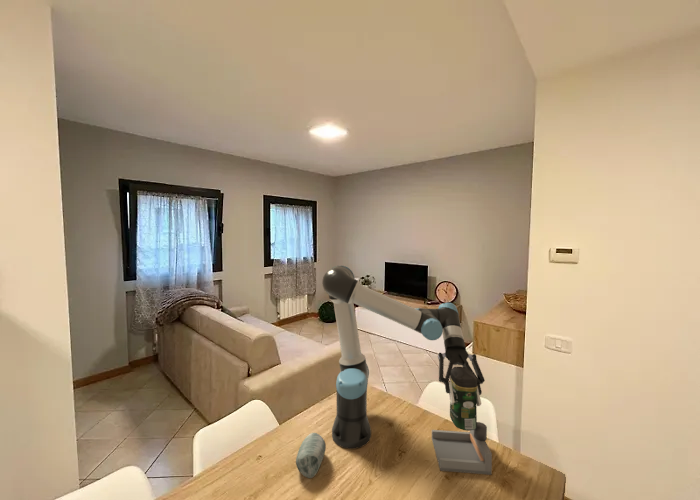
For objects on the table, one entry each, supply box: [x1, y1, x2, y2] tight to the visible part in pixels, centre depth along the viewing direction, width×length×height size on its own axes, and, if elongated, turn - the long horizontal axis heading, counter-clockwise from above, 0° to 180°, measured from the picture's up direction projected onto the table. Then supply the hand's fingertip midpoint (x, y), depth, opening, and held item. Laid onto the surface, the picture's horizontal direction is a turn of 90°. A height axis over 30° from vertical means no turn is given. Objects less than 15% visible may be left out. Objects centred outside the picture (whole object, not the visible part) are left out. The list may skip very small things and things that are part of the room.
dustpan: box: [431, 421, 493, 476], centre depth 98 cm, size 17×15×11 cm
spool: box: [295, 432, 327, 479], centre depth 94 cm, size 14×10×10 cm
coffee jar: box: [449, 366, 478, 432], centre depth 98 cm, size 10×8×19 cm
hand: (465, 404), depth 94 cm, fingers closed on coffee jar, 8 cm apart
